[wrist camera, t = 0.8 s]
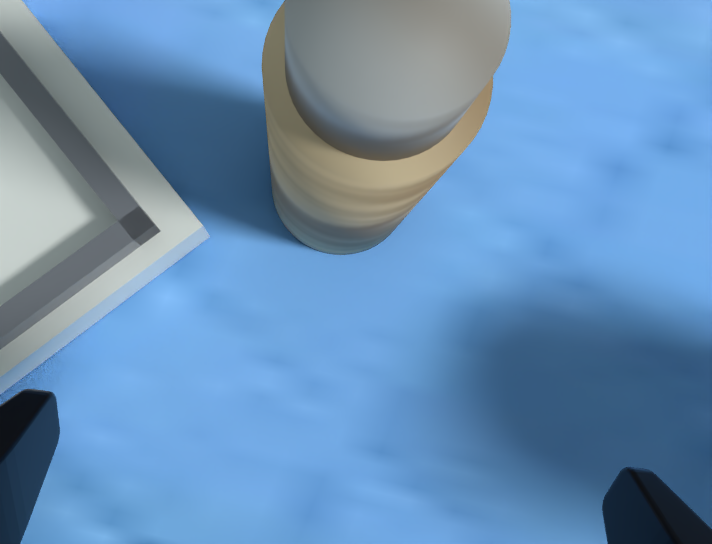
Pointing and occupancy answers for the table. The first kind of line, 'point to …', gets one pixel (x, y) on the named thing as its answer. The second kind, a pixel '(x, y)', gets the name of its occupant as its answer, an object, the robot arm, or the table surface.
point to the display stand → (70, 202)
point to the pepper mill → (372, 108)
